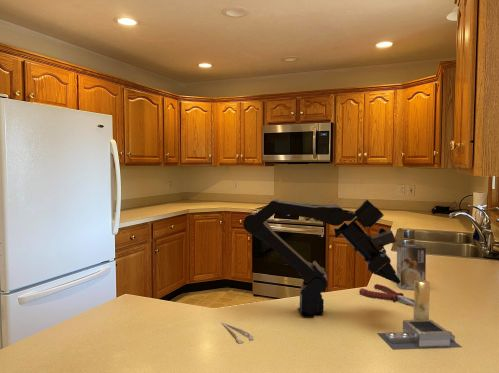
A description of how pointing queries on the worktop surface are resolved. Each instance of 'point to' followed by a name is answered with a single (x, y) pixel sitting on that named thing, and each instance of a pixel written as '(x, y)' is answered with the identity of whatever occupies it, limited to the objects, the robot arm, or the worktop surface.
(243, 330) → the tweezers
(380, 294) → the pliers
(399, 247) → the coffee box
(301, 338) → the worktop surface
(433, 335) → the grey framed plate
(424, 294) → the amber cylinder
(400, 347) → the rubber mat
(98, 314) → the worktop surface
